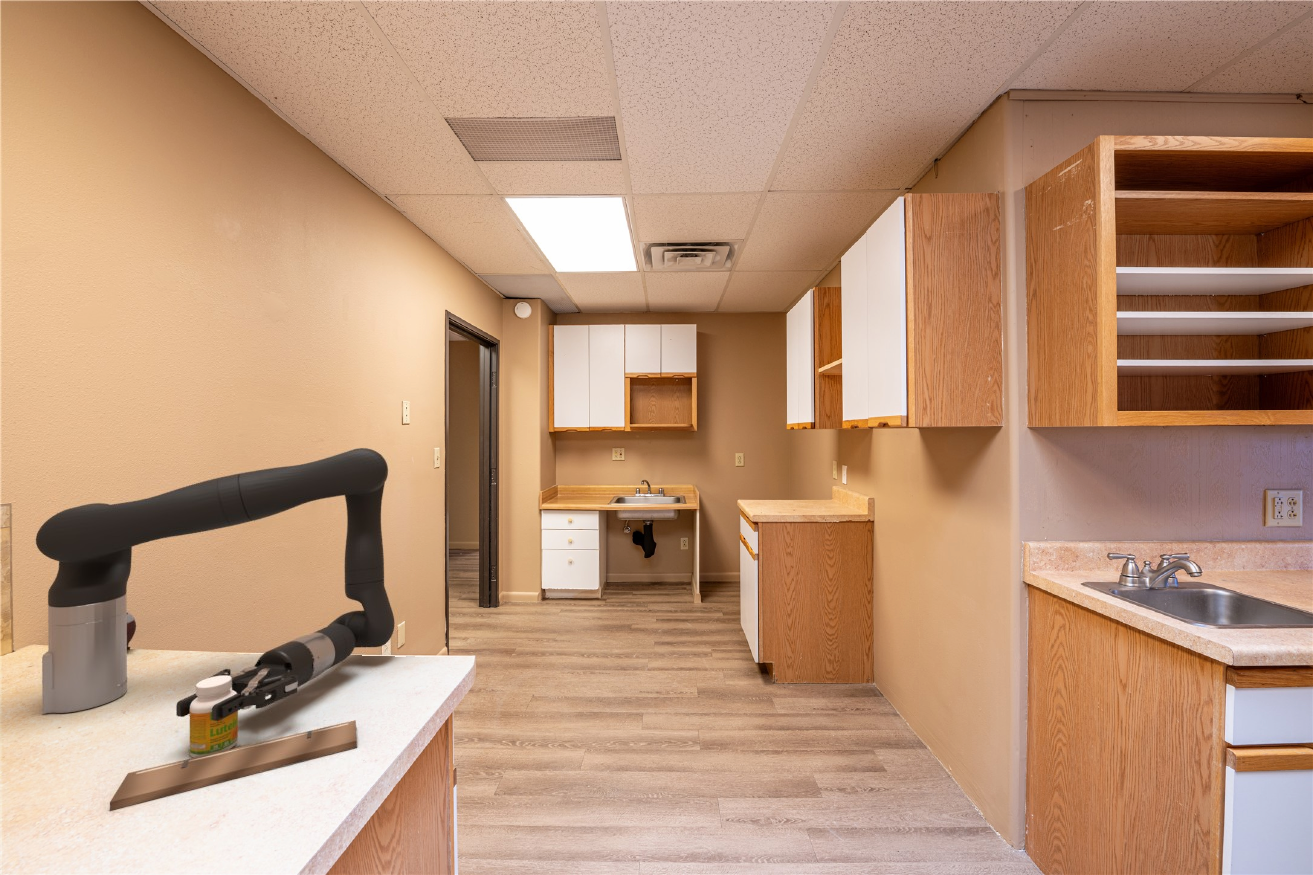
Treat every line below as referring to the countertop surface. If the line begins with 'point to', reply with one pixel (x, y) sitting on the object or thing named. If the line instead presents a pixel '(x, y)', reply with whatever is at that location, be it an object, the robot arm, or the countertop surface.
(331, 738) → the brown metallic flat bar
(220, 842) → the countertop surface
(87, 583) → the robot arm
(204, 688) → the supplement bottle
